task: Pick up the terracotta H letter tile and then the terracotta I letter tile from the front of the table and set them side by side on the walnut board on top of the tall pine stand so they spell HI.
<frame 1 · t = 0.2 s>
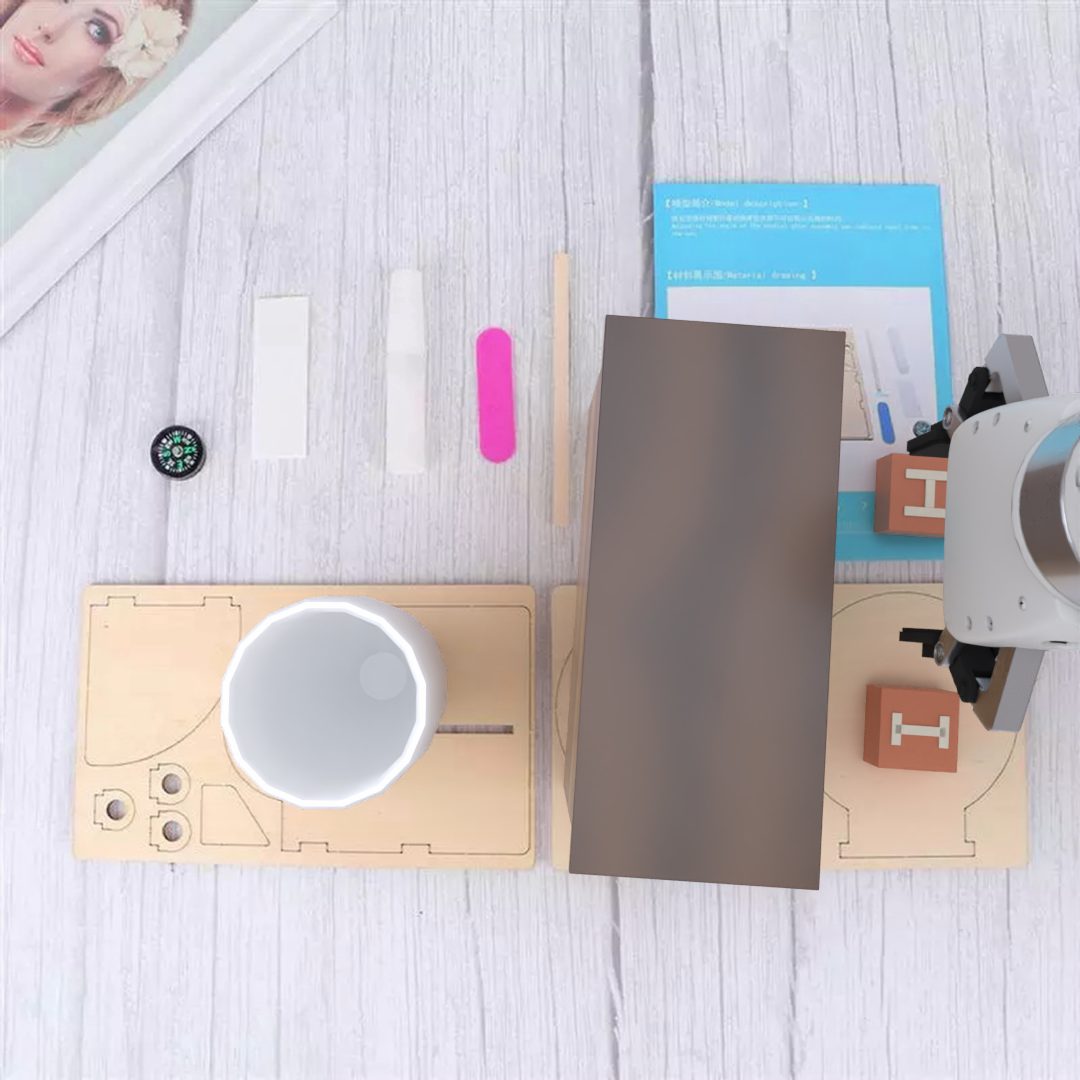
hand: (931, 542, 50), 16 cm above the table, tool pointing down, fingers open, 9 cm apart
stand: (648, 600, 66), on the table
tile I: (892, 721, 65), on the table
tile H: (901, 501, 66), on the table
cup: (391, 672, 65), on the table
word board: (708, 596, 44), resting on stand
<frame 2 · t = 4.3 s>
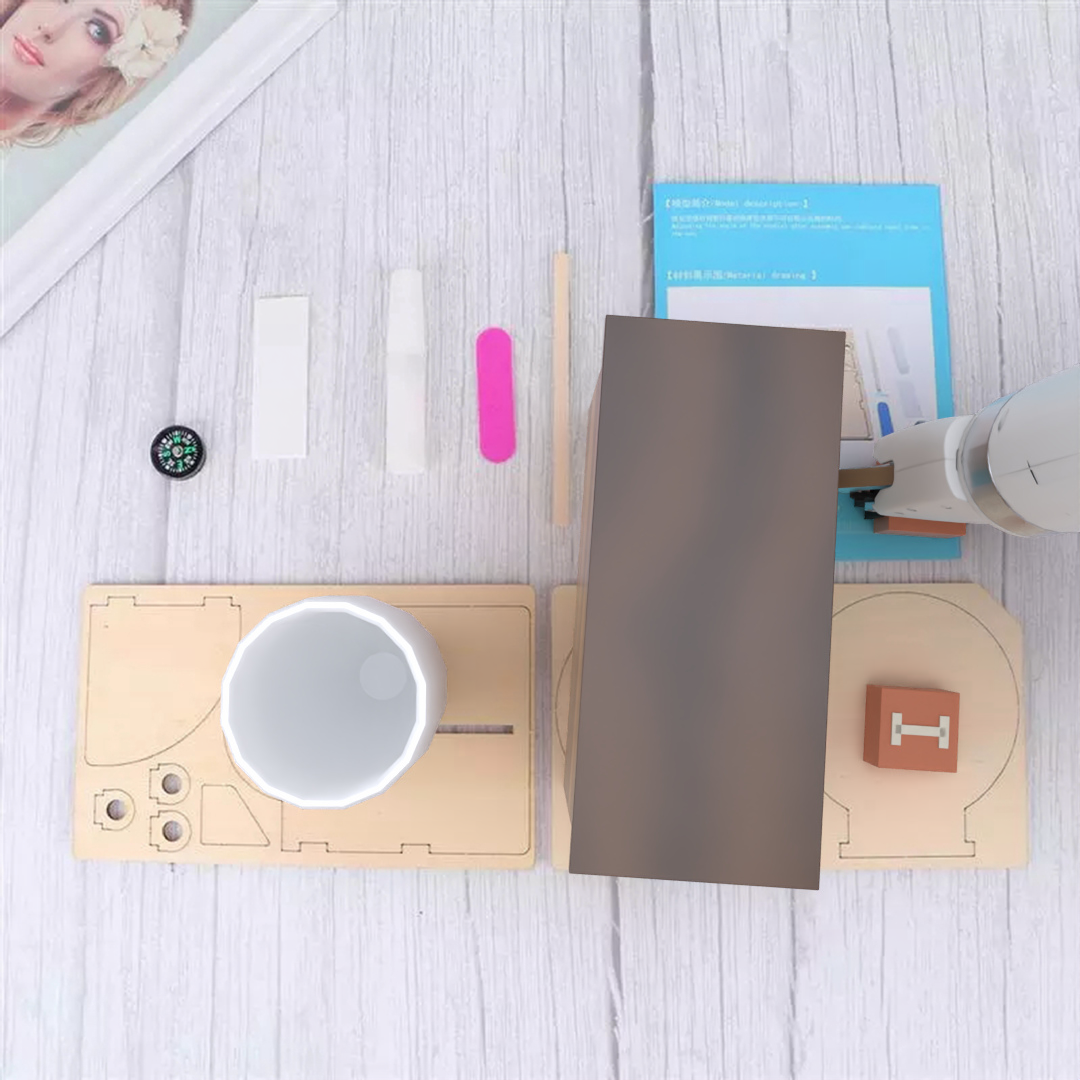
hand: (904, 501, 66), 0 cm above the table, tool pointing down, fingers closed on tile H, 5 cm apart
tile H: (901, 501, 66), on the table, touching gripper
everything else where it was.
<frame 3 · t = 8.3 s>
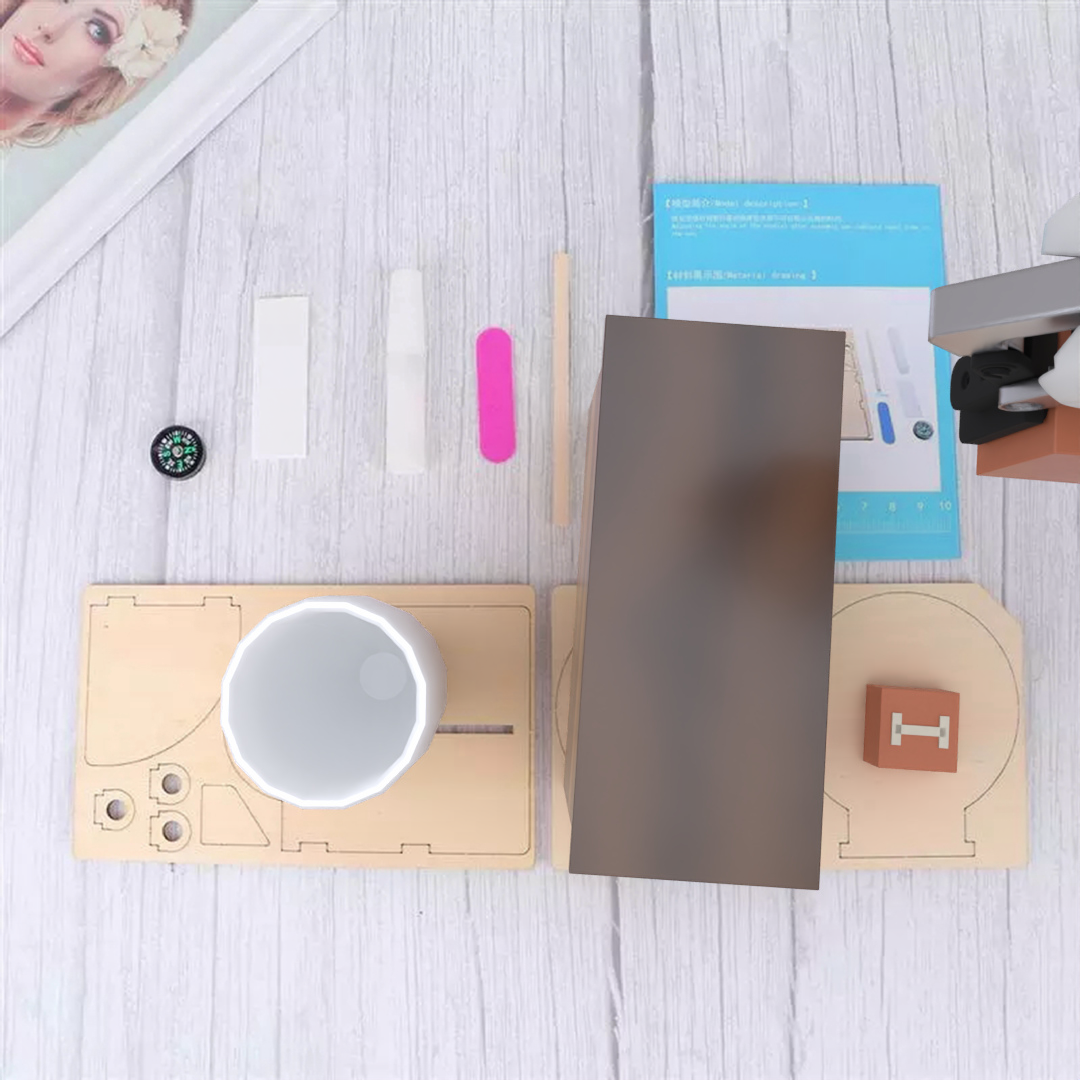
hand: (1062, 402, 30), 36 cm above the table, tool pointing down, fingers closed on tile H, 5 cm apart
tile H: (1056, 404, 31), point 35 cm above the table, touching gripper
everything else where it was.
when the fingers open (23 cm above the table, at t = 12.2 s): tile H stays where it is, resting on word board.
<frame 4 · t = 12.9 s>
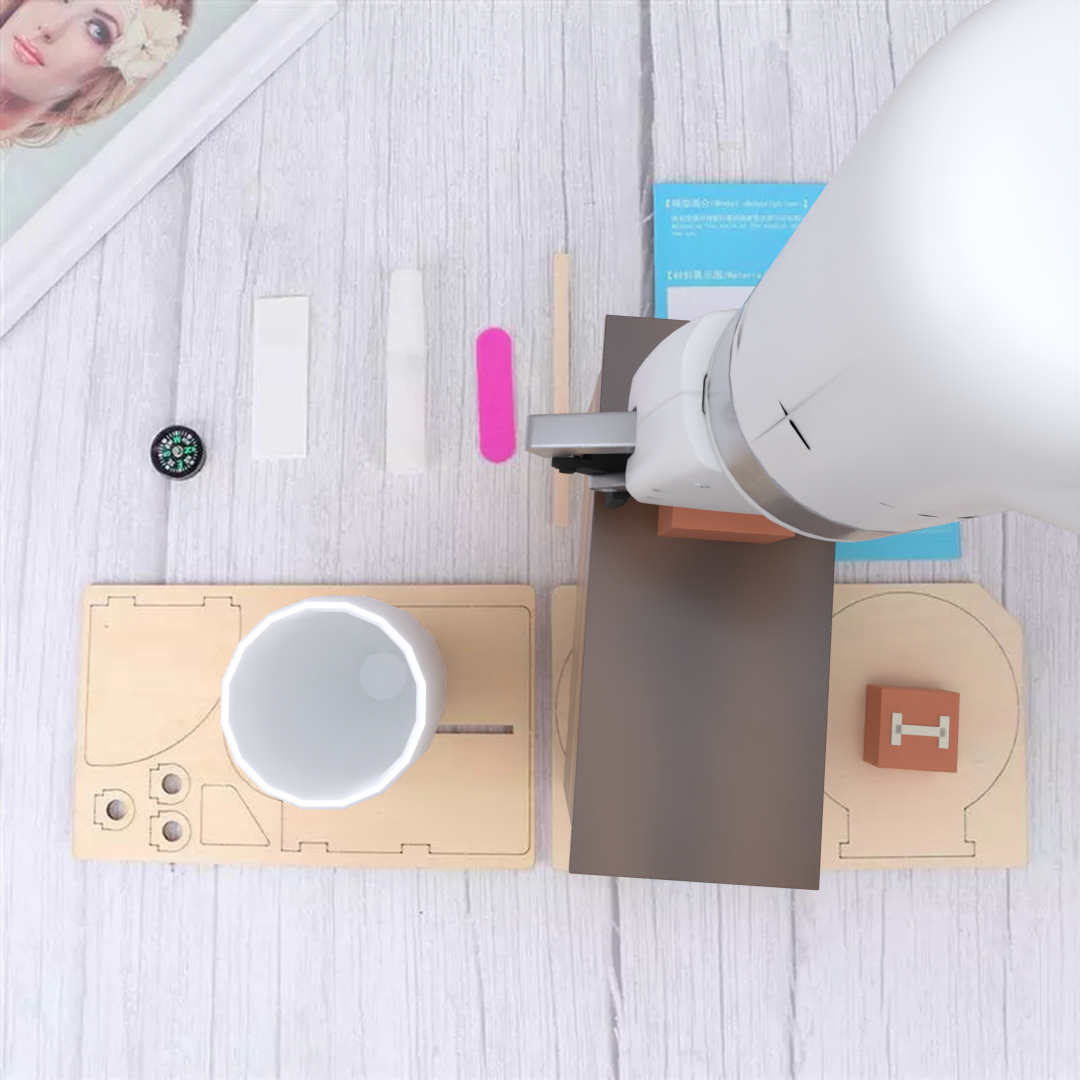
hand: (725, 480, 42), 24 cm above the table, tool pointing down, fingers open, 9 cm apart
tile H: (715, 484, 43), point 23 cm above the table, touching word board
everything else where it was.
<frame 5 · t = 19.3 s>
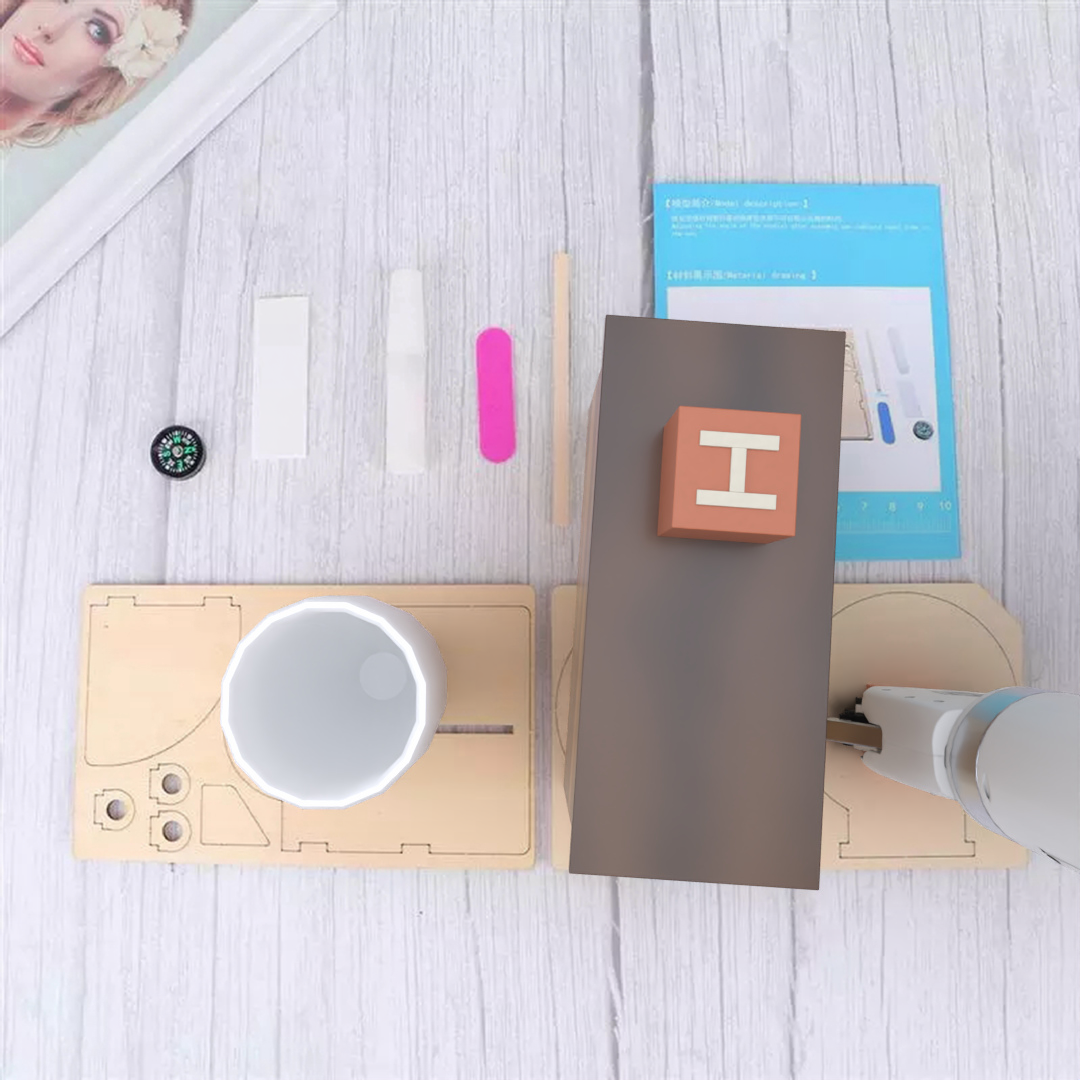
hand: (894, 722, 65), 0 cm above the table, tool pointing down, fingers closed on tile I, 5 cm apart
tile I: (892, 721, 65), on the table, touching gripper
everything else where it was.
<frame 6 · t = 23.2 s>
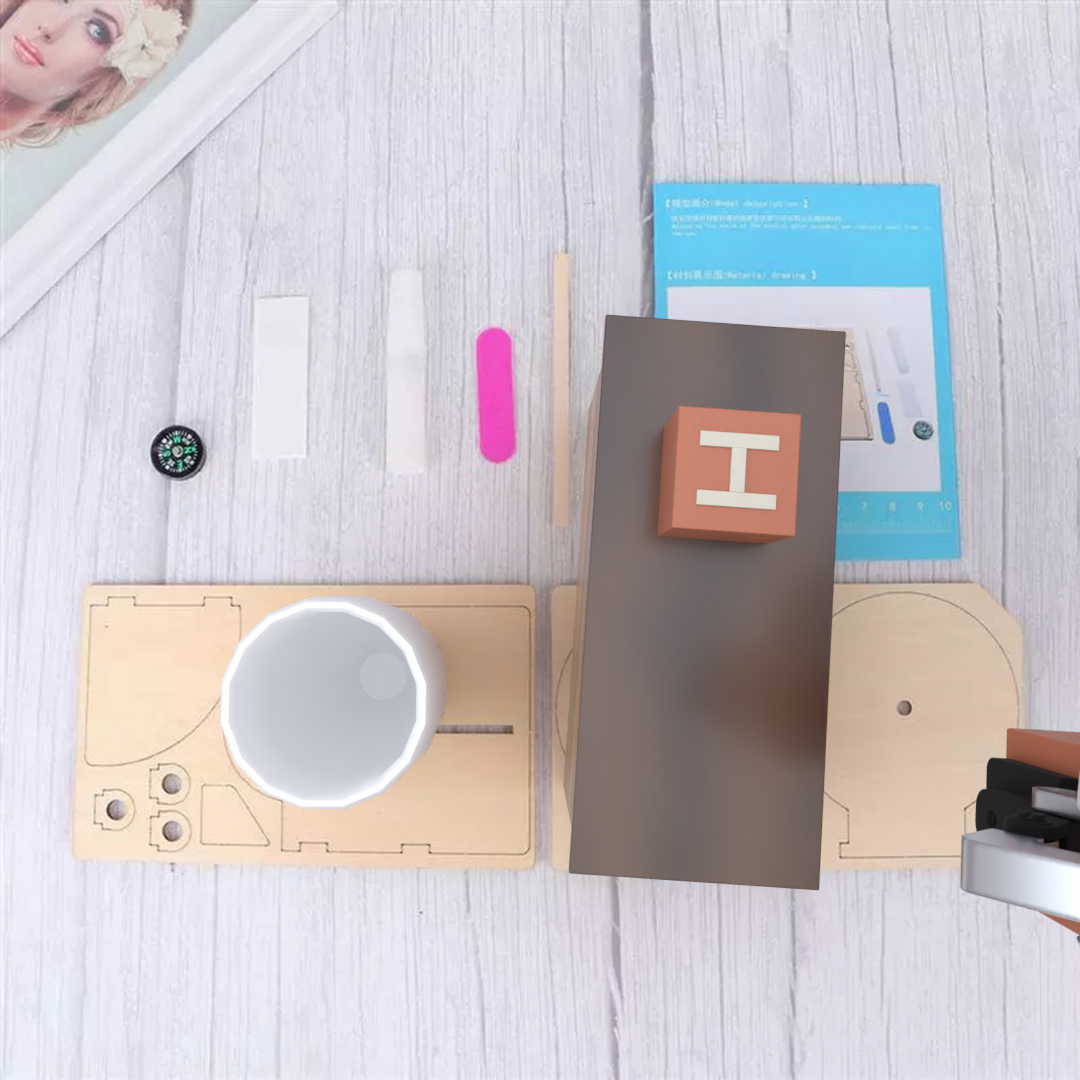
when the fingers open (23 cm above the table, at t = 27.2 s): tile I stays where it is, resting on word board.
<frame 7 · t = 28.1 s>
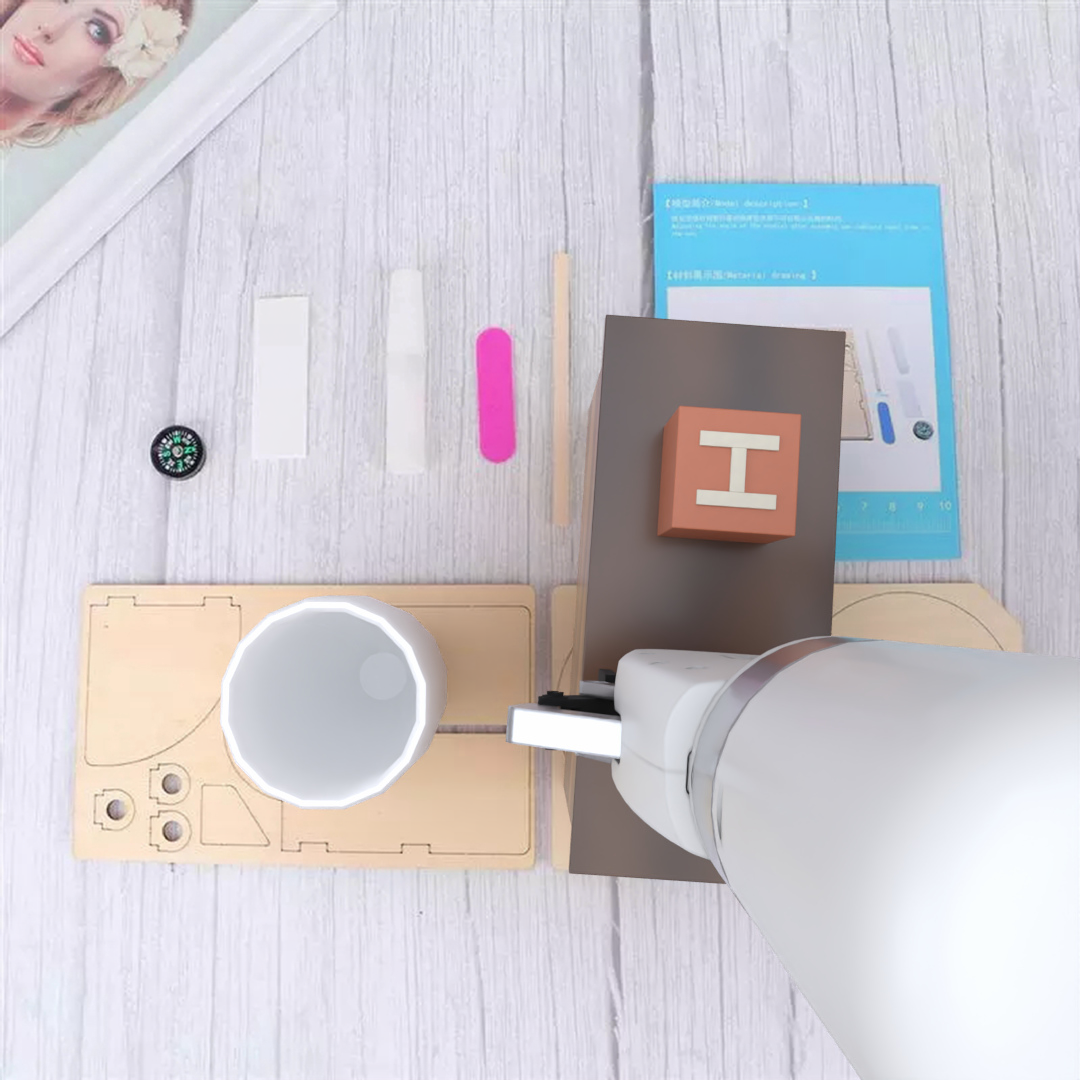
hand: (719, 715, 40), 25 cm above the table, tool pointing down, fingers open, 9 cm apart
tile I: (702, 710, 43), point 23 cm above the table, touching word board
everything else where it was.
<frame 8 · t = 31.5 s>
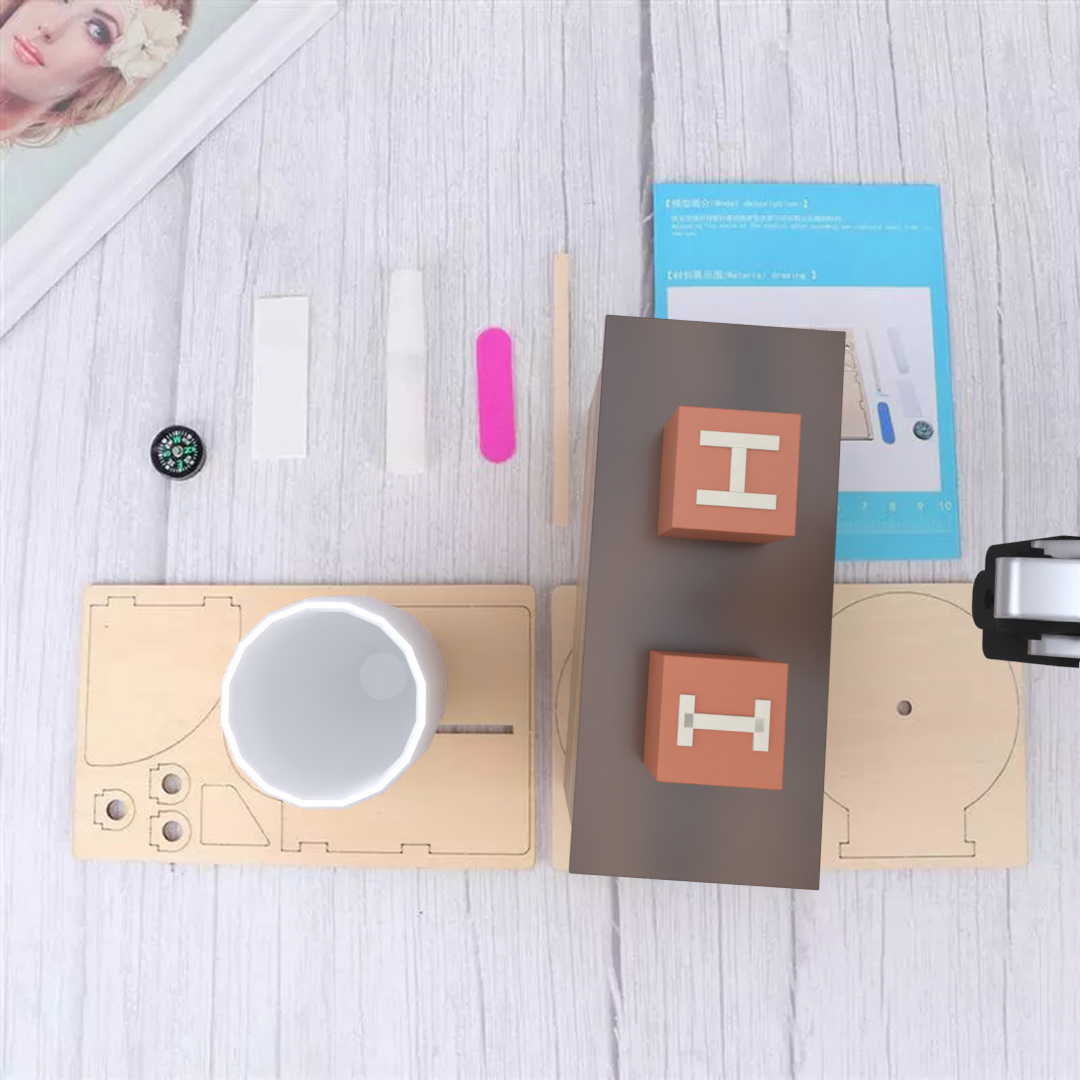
nothing on the table moved.
at the end: tile H 0.1 cm from the target spot on the word board, point 0.6 cm above the word board's base; tile I 0.1 cm from the target spot on the word board, point 0.6 cm above the word board's base; tile H 10.1 cm from the tile I (horizontally) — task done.
